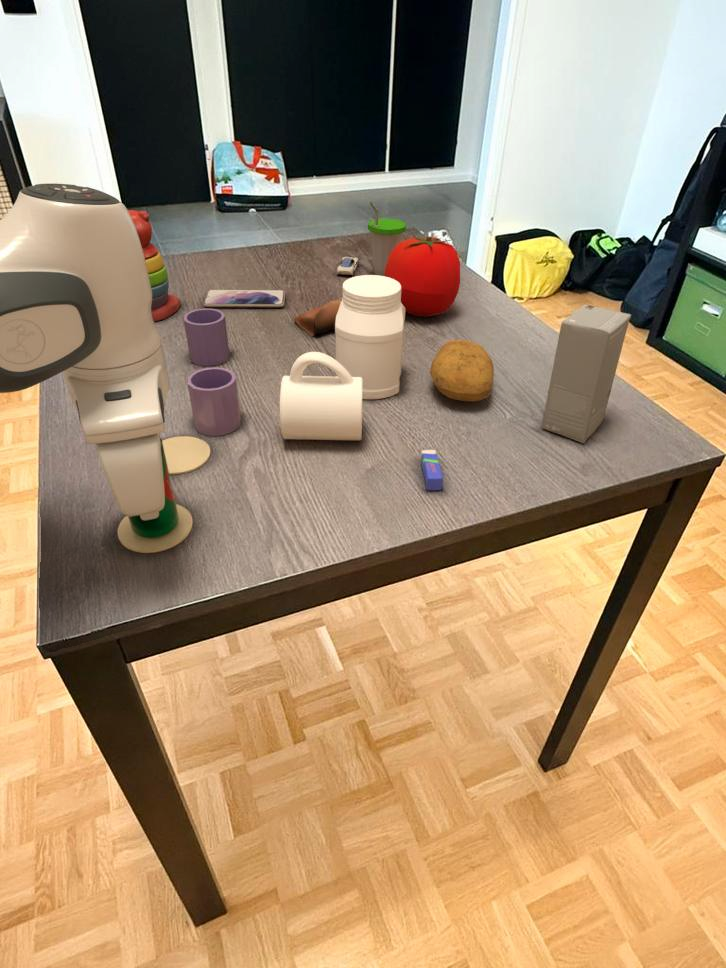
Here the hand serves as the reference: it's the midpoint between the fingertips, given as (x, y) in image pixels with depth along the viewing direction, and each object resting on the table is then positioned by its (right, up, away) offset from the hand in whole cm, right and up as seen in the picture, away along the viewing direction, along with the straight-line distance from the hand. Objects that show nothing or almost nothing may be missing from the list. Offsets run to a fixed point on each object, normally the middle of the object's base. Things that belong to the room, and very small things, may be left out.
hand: (147, 491), depth 66 cm
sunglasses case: (+20, +31, +48) cm, 60 cm away
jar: (+24, +17, +30) cm, 42 cm away
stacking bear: (-17, +32, +48) cm, 60 cm away
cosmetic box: (+52, +9, +22) cm, 57 cm away
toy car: (+20, +48, +69) cm, 86 cm away
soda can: (0, -4, +3) cm, 5 cm away
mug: (+17, +7, +18) cm, 27 cm away
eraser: (+31, +2, +12) cm, 33 cm away
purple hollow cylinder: (-2, +21, +35) cm, 41 cm away
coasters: (0, 0, +9) cm, 9 cm away
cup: (+28, +45, +66) cm, 85 cm away
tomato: (+34, +34, +52) cm, 71 cm away
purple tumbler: (+3, +9, +20) cm, 22 cm away
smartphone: (0, +36, +53) cm, 64 cm away
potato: (+37, +15, +29) cm, 49 cm away
